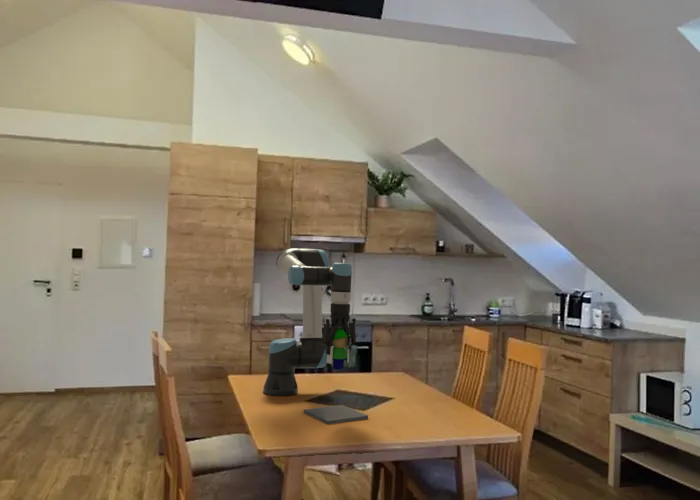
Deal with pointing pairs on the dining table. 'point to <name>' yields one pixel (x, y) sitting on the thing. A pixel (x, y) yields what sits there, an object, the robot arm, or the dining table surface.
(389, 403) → the dining table surface
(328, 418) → the plate
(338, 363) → the toy
